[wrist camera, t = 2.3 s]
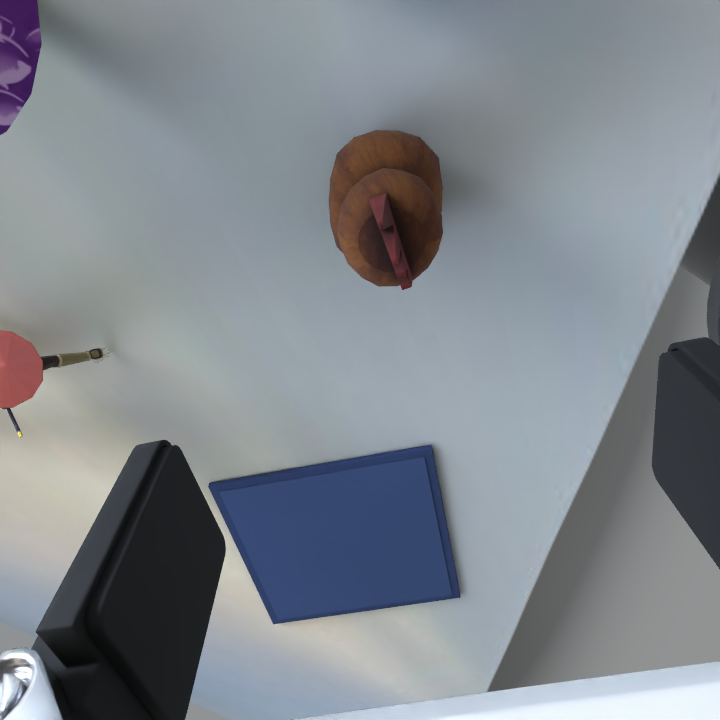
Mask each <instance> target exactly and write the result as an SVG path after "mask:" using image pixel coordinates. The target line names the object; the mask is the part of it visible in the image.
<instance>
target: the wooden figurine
mask: <svg viewBox="0 0 720 720" xmlns="http://www.w3.org/2000/svg"><path fill="white" fill-rule="evenodd" d="M442 188H443V187H442V181H441V174H440V165H439V158H438V157H437V155H436V154H435V153H434V152H433V151H432V150H431V149H430V148H429V146H428V145H427V144H426V143H425V142H424V141H423V140H422V139H421V138H420V137H417V136H414V135H410V134H407V133H403V132H400V131H380V130H376V131H373V132H370V133H367V134H363V135H360V136H357V137H354V138H353V139H352V140H351V141H350V142H349V143H348V144H347V145H346V146H345V147H344V148H342V149H341V150H340V151H339V152H338V153H337V156H336V160H335V164H334V167H333V171H332V175H331V179H330V194H329V208H330V222H331V228H332V231H333V235H334V238H335V242H336V245H337V247H338V248H339V250H340V251H341V252H342V253H343V254H344V256H345V258H346V260H347V262H348V264H349V265H350V266H351V267H352V268H353V269H354V270H355V271H356V272H357V273H358V274H359V275H360V276H361V277H362V278H364V279H366V280H368V281H369V282H371V283H373V284H375V285H377V286H399V285H401V288H402V290H404V289H407V288H410V287H411V286H412V280H414V279H415V278H417V277H418V276H419V275H420V274H421V273H422V272H423V271H425V270H426V269H427V268H428V267H429V265H430V264H431V262H432V260H433V259H434V257H435V255H436V254H437V252H438V249H439V245H440V242H441V238H442V234H443V228H442V215H441V211H442Z"/></svg>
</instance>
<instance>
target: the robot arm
mask: <svg viewBox="0 0 720 720" xmlns="http://www.w3.org/2000/svg"><path fill="white" fill-rule="evenodd" d="M652 468H653V472H654V475H655V477H656V480H657V481H658V483H659V484H660V486H661V487H662V489H663V490H664V491H665V493H666V494H667V496H668V497H669V499H670V500H671V501H672V503H673V504H674V505H675V507H676V508H677V510H678V511H679V513H680V514H681V515H682V517H683V518H684V519H685V521H686V522H687V524H688V525H689V527H690V528H691V529H692V531H693V532H694V534H695V535H696V536H697V538H698V539H699V541H700V542H701V543H702V545H703V546H704V548H705V549H706V550H707V552H708V553H709V555H710V556H711V558H712V559H713V560H714V562H715V563H716V565H717V566H718V567H719V569H720V346H718V345H717V344H716V343H715V342H713V341H712V340H711V339H709V338H705V337H704V338H698V339H692V340H687V341H682V342H677V343H673V344H671V345H670V346H669V348H668V352H666V353H662V354H661V356H660V359H659V367H658V382H657V396H656V410H655V426H654V441H653V454H652ZM225 551H226V547H225V540H224V537H223V534H222V532H221V530H220V528H219V526H218V524H217V522H216V520H215V518H214V516H213V514H212V512H211V510H210V508H209V506H208V504H207V502H206V500H205V498H204V495H203V493H202V491H201V489H200V487H199V485H198V483H197V481H196V479H195V477H194V475H193V473H192V471H191V469H190V467H189V465H188V463H187V461H186V459H185V457H184V455H183V453H182V451H181V449H180V447H178V446H177V445H173V446H172V445H171V443H170V442H168V441H167V440H161V441H156V442H150V443H145V444H140V445H137V446H135V448H134V449H133V451H132V452H131V454H130V456H129V458H128V460H127V462H126V464H125V466H124V467H123V469H122V471H121V473H120V475H119V477H118V479H117V481H116V482H115V484H114V486H113V488H112V490H111V492H110V494H109V495H108V497H107V499H106V501H105V503H104V505H103V507H102V509H101V510H100V512H99V514H98V516H97V518H96V520H95V522H94V523H93V525H92V527H91V529H90V531H89V533H88V535H87V537H86V538H85V540H84V542H83V544H82V546H81V548H80V550H79V551H78V553H77V555H76V557H75V559H74V561H73V563H72V565H71V566H70V568H69V570H68V572H67V574H66V576H65V578H64V579H63V581H62V583H61V585H60V587H59V589H58V591H57V593H56V594H55V596H54V598H53V600H52V602H51V604H50V606H49V607H48V609H47V611H46V613H45V615H44V617H43V619H42V621H41V622H40V624H39V626H38V628H37V630H36V633H37V634H38V637H37V639H36V641H35V643H34V645H33V647H32V649H29V648H14V649H11V650H8V651H5V652H2V653H0V720H185V717H186V713H187V710H188V706H189V702H190V697H191V693H192V689H193V685H194V681H195V677H196V673H197V669H198V664H199V660H200V656H201V652H202V648H203V644H204V640H205V636H206V632H207V627H208V623H209V619H210V615H211V611H212V607H213V603H214V599H215V595H216V590H217V586H218V582H219V578H220V574H221V570H222V566H223V562H224V557H225ZM293 720H720V661H718V662H710V663H702V664H695V665H687V666H680V667H672V668H665V669H657V670H650V671H642V672H634V673H627V674H619V675H612V676H604V677H597V678H589V679H581V680H574V681H567V682H559V683H551V684H544V685H537V686H530V687H522V688H515V689H508V690H501V691H494V692H486V693H478V694H471V695H464V696H457V697H449V698H442V699H435V700H428V701H421V702H413V703H406V704H399V705H392V706H384V707H377V708H370V709H363V710H356V711H349V712H342V713H335V714H328V715H321V716H314V717H307V718H300V719H293Z"/></svg>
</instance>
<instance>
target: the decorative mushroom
mask: <svg viewBox="0 0 720 720" xmlns="http://www.w3.org/2000/svg"><path fill="white" fill-rule="evenodd" d="M40 48H41V34H40V24H39V15H38V5H37V0H0V135H1V134H3V133H5V132H6V131H7V130H8V129H9V127H10V126H11V124H12V122H13V121H14V119H15V118H16V116H17V115H18V113H19V112H20V110H21V109H22V107H23V106H24V104H25V103H26V101H27V100H28V98H29V97H30V95H31V92H32V87H33V82H34V78H35V73H36V68H37V63H38V58H39V53H40Z"/></svg>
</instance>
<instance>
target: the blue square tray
mask: <svg viewBox="0 0 720 720" xmlns="http://www.w3.org/2000/svg"><path fill="white" fill-rule="evenodd" d="M208 487H209V489H210V491H211V493H212V495H213V497H214V499H215V501H216V504H217V506H218V508H219V510H220V512H221V514H222V516H223V518H224V520H225V523H226V525H227V527H228V529H229V531H230V533H231V535H232V537H233V539H234V542H235V544H236V546H237V548H238V550H239V552H240V554H241V556H242V559H243V561H244V563H245V565H246V567H247V569H248V571H249V573H250V575H251V578H252V580H253V582H254V584H255V586H256V588H257V590H258V592H259V594H260V597H261V599H262V601H263V603H264V605H265V607H266V609H267V611H268V614H269V616H270V618H271V620H272V622H273V624H278V623H285V622H292V621H299V620H306V619H313V618H320V617H327V616H334V615H341V614H348V613H355V612H362V611H369V610H376V609H383V608H390V607H397V606H404V605H411V604H418V603H425V602H432V601H439V600H446V599H453V598H460V592H459V587H458V581H457V576H456V571H455V566H454V561H453V555H452V550H451V545H450V540H449V534H448V529H447V524H446V519H445V513H444V508H443V503H442V498H441V492H440V487H439V482H438V477H437V471H436V466H435V461H434V456H433V451H432V446H431V445H428V446H423V447H417V448H411V449H405V450H399V451H393V452H388V453H382V454H376V455H370V456H364V457H359V458H353V459H347V460H341V461H335V462H329V463H324V464H318V465H312V466H306V467H300V468H295V469H289V470H283V471H277V472H271V473H265V474H260V475H254V476H248V477H242V478H236V479H230V480H225V481H219V482H213V483H209V486H208Z"/></svg>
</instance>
